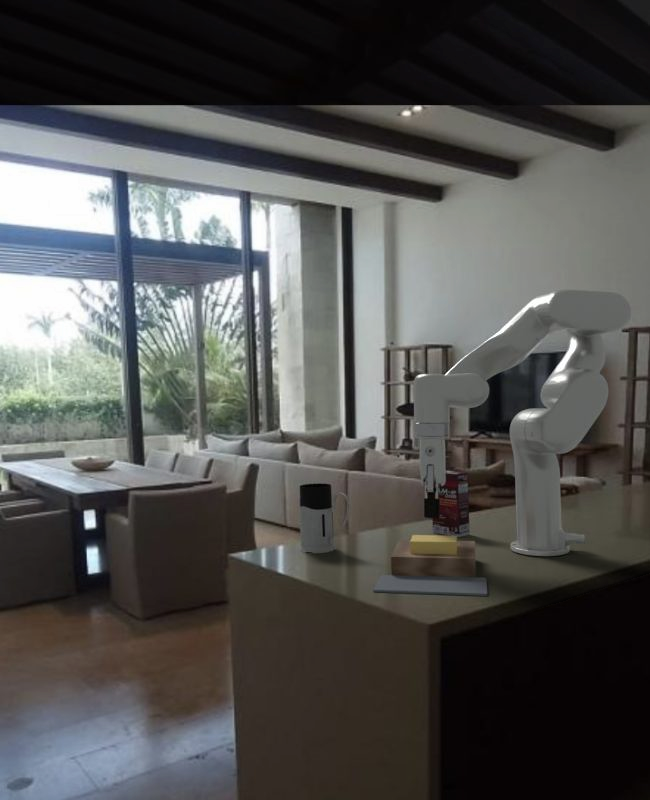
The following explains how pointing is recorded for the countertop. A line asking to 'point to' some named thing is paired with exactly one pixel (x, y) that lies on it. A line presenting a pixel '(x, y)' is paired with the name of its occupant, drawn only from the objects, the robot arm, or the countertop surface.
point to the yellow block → (433, 544)
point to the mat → (432, 585)
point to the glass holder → (318, 518)
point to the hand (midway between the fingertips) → (432, 517)
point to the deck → (434, 561)
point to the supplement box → (453, 506)
